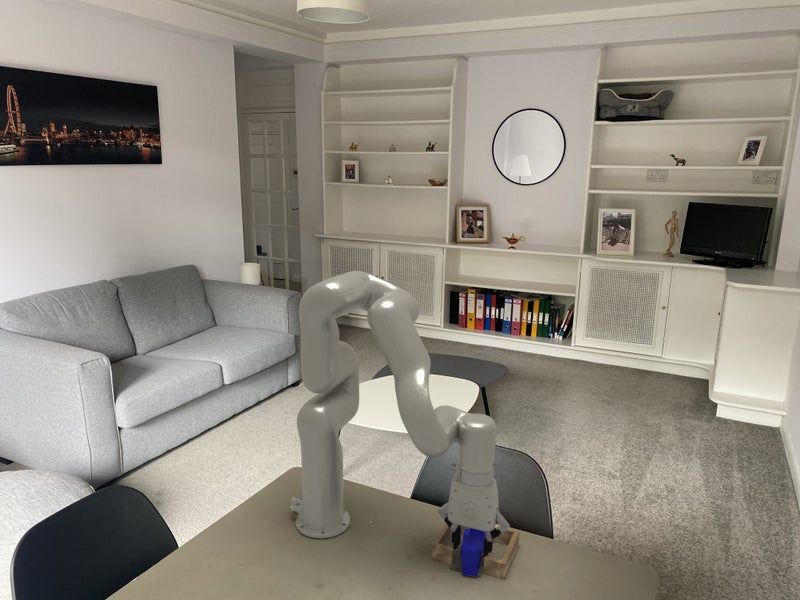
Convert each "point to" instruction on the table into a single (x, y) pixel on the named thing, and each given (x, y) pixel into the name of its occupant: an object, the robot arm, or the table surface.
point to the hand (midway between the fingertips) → (471, 549)
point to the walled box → (487, 564)
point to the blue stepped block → (472, 551)
